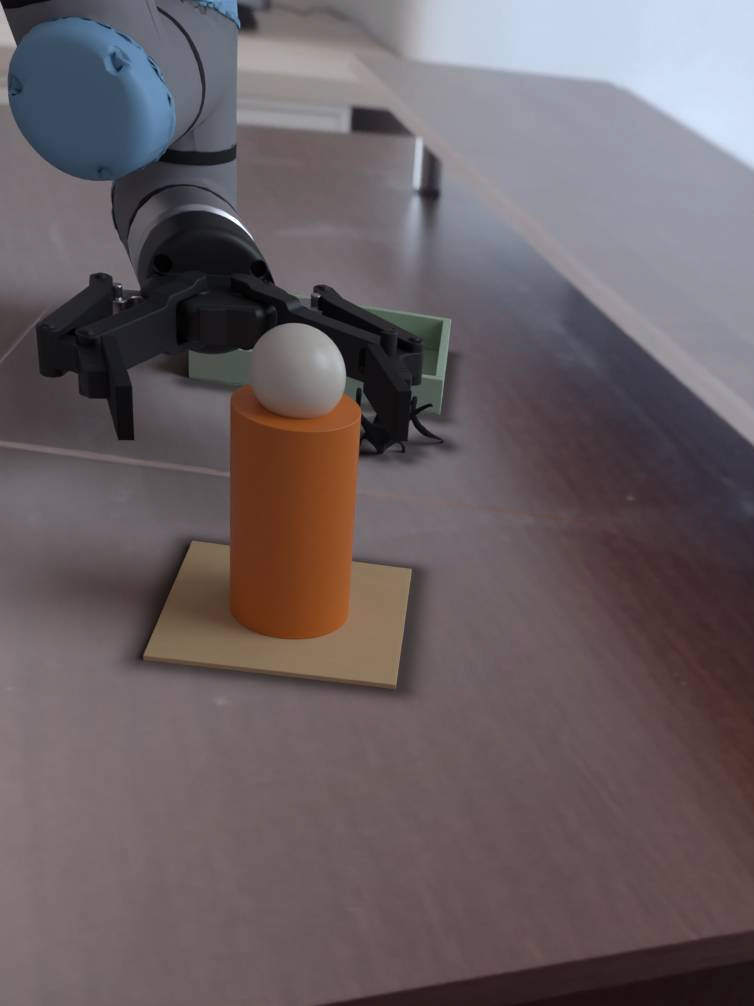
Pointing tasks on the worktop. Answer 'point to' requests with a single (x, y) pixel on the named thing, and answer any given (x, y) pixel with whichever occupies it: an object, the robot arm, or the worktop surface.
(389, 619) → the mat
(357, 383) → the tray
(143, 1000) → the worktop surface
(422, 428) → the creature
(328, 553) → the skittle
